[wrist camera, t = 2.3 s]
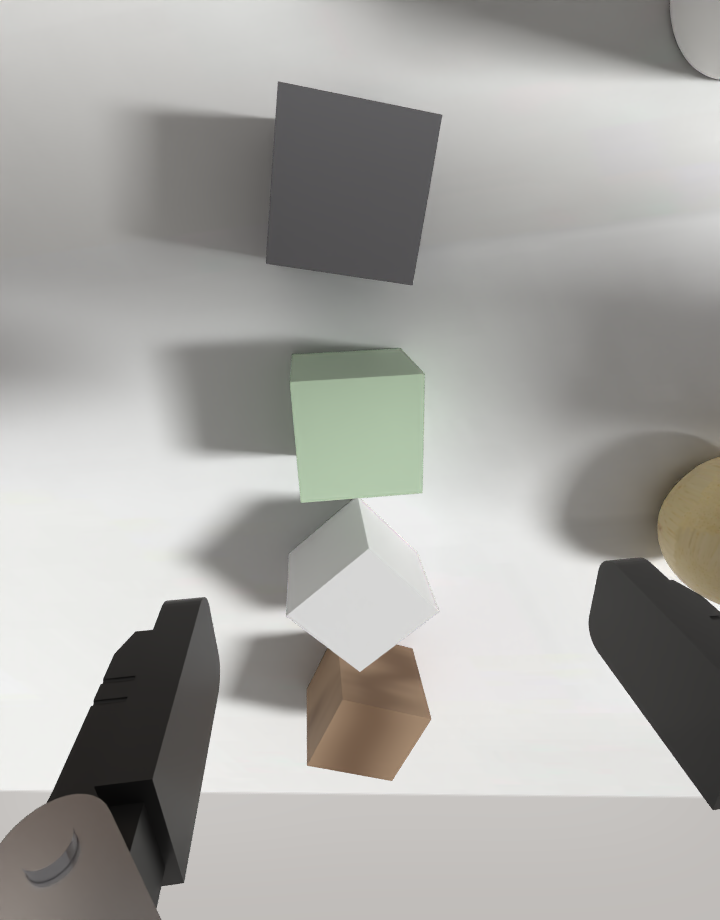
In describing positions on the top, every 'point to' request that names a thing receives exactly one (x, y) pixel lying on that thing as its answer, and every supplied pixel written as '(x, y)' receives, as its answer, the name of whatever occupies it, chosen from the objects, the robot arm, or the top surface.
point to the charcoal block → (349, 184)
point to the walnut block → (365, 714)
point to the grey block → (358, 586)
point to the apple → (694, 529)
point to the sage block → (357, 424)
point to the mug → (698, 33)
